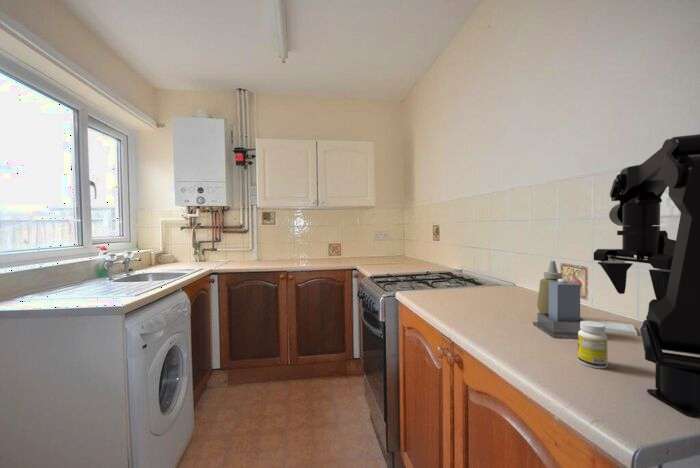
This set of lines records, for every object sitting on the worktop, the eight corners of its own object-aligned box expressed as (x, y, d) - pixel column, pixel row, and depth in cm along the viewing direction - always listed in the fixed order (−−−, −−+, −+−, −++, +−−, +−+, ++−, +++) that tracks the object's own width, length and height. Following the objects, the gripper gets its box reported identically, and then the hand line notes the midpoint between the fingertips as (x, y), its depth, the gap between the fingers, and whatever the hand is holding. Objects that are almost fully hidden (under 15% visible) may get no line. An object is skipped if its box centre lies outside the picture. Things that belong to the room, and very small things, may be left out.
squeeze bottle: (531, 317, 93) (531, 260, 93) (546, 313, 96) (547, 259, 96) (558, 324, 86) (558, 263, 85) (574, 320, 89) (574, 261, 89)
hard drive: (577, 323, 84) (637, 331, 76) (576, 316, 90) (632, 323, 83) (577, 328, 84) (637, 338, 76) (576, 321, 90) (632, 329, 83)
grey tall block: (580, 331, 77) (580, 281, 77) (557, 330, 78) (557, 281, 78) (569, 326, 82) (570, 278, 81) (548, 325, 82) (548, 278, 82)
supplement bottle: (583, 356, 64) (584, 318, 64) (611, 365, 60) (611, 324, 60) (573, 362, 61) (573, 322, 61) (601, 371, 57) (601, 328, 57)
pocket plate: (599, 339, 74) (599, 323, 74) (552, 337, 75) (552, 321, 75) (574, 326, 84) (574, 311, 84) (533, 324, 86) (533, 310, 86)
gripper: (736, 225, 53) (734, 310, 53) (639, 226, 71) (638, 289, 72) (670, 225, 53) (669, 310, 54) (592, 226, 72) (591, 289, 72)
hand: (640, 298), depth 63 cm, fingers open, 9 cm apart
